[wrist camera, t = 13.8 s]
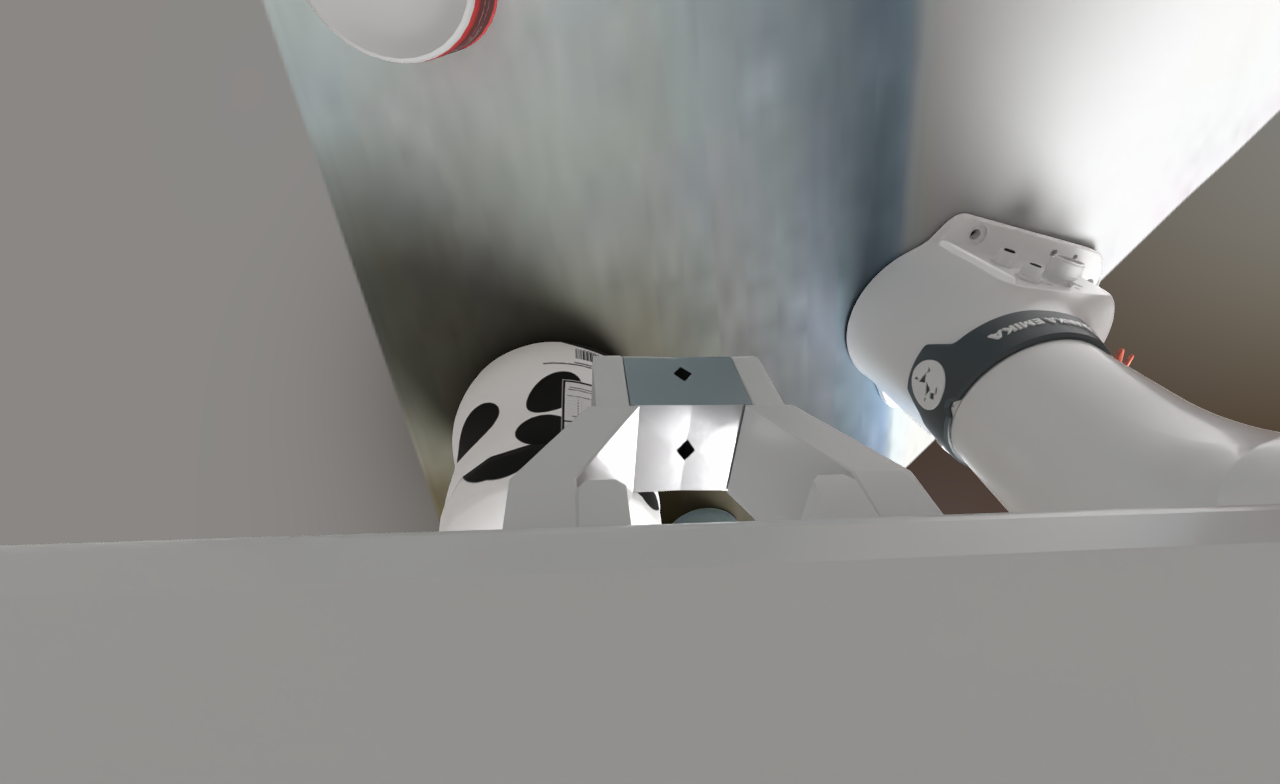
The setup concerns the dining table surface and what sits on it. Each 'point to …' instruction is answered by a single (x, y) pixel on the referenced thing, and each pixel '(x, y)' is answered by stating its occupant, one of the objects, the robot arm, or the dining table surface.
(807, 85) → the dining table surface
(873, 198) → the dining table surface
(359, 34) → the canned food
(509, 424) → the milk container
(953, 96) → the dining table surface
